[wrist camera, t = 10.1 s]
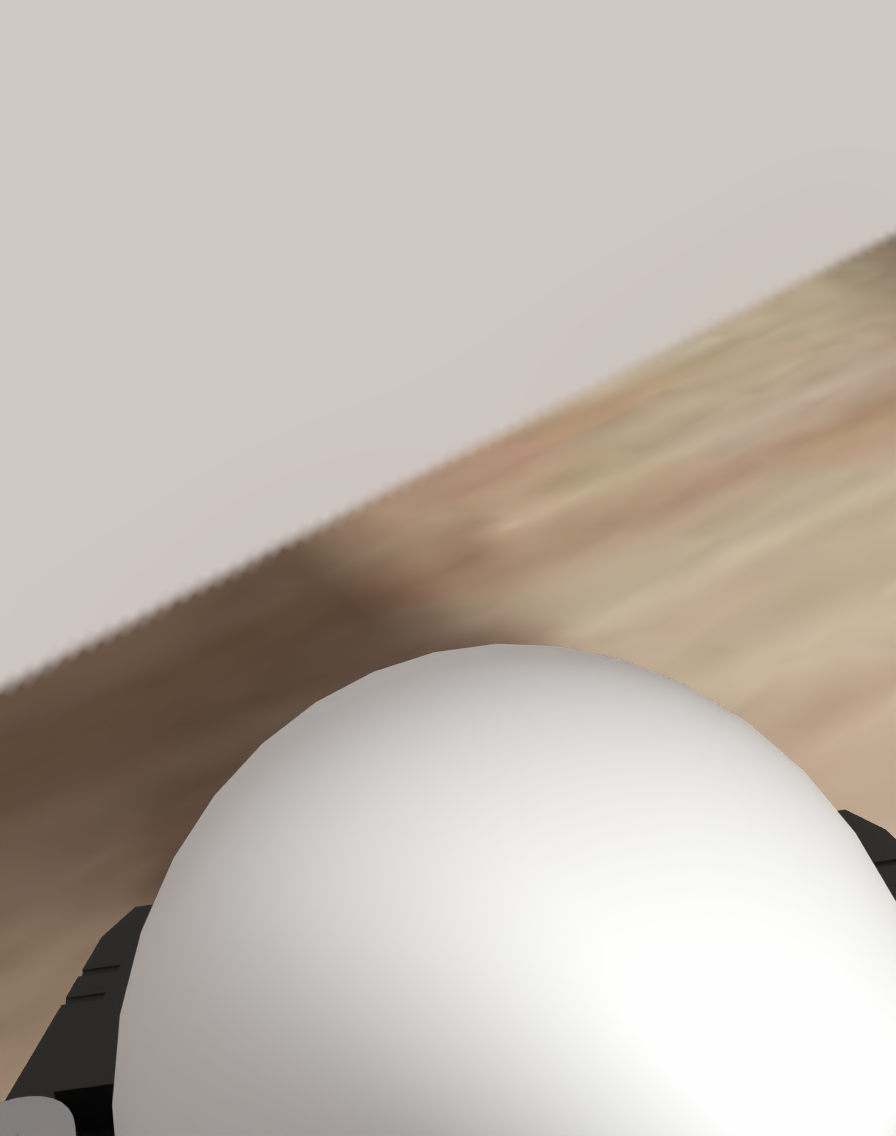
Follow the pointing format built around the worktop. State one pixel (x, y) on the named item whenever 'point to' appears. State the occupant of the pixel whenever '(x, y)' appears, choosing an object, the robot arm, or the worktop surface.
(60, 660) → the worktop surface
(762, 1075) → the lightbulb
